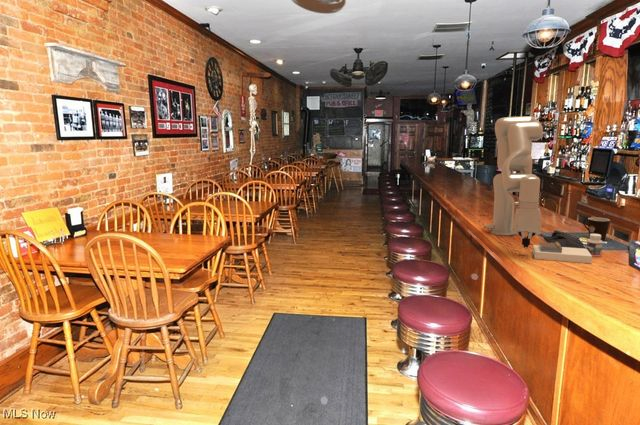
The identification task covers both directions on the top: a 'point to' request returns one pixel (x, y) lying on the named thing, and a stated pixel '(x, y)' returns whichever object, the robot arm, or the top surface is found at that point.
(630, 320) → the top surface
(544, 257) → the socket block
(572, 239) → the black slab with knob
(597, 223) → the coffee mug
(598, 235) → the pill bottle
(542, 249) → the grey slab
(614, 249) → the top surface
